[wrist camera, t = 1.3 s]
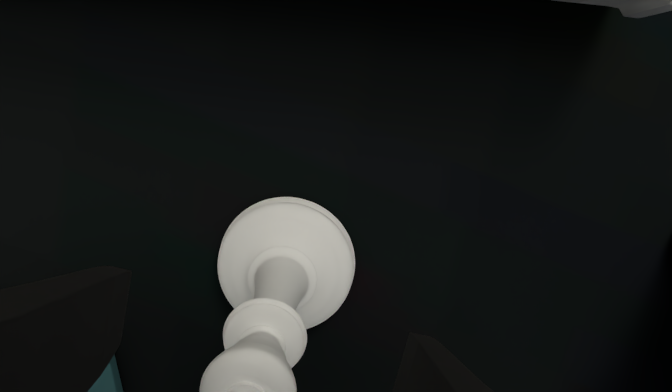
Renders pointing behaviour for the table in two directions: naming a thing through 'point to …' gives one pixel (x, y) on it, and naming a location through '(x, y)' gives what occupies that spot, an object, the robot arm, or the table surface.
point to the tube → (632, 6)
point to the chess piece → (277, 291)
